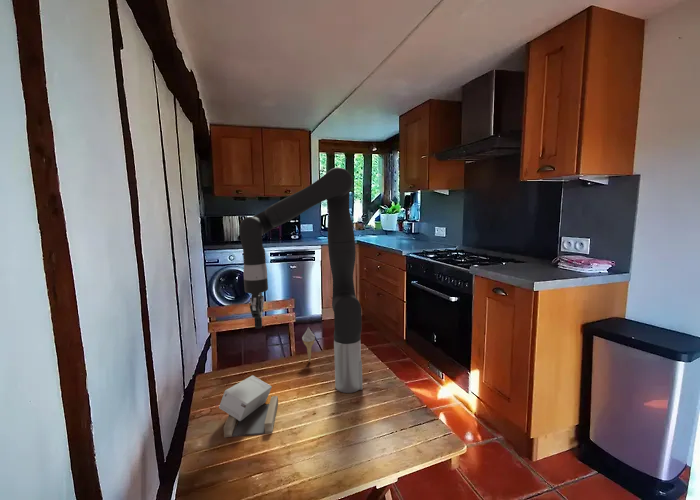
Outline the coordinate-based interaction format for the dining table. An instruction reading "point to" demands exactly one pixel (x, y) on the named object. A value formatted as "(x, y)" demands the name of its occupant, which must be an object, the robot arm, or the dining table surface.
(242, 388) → the skincare box
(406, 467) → the dining table surface
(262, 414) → the rest
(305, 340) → the ice cream cone
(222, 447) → the dining table surface
